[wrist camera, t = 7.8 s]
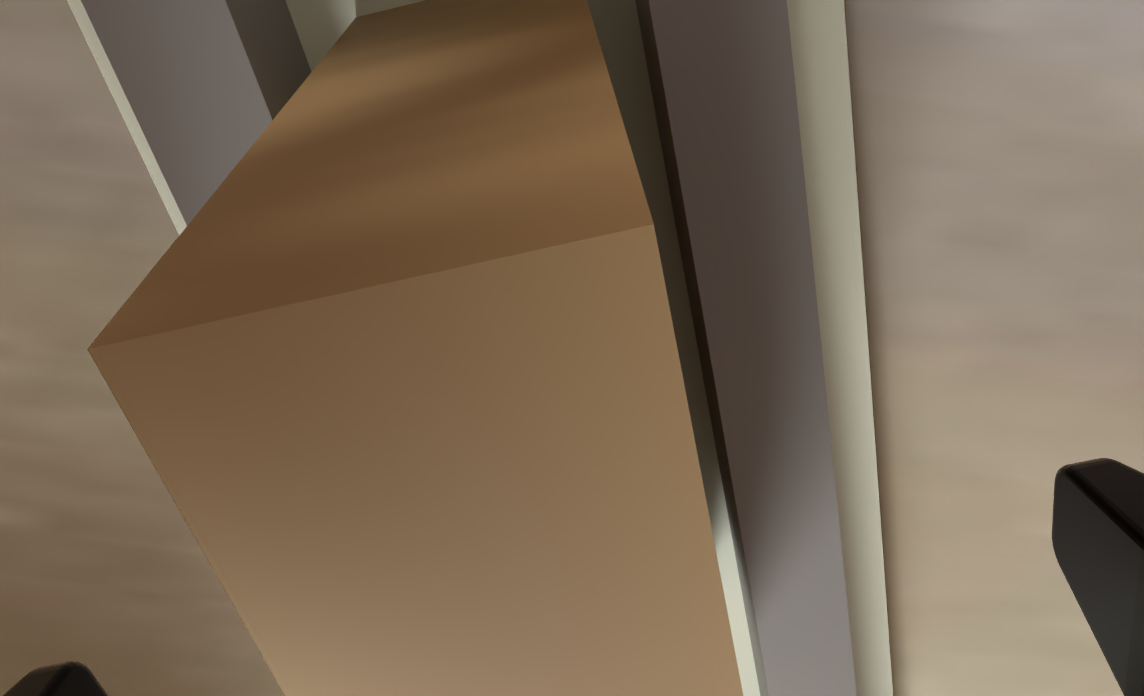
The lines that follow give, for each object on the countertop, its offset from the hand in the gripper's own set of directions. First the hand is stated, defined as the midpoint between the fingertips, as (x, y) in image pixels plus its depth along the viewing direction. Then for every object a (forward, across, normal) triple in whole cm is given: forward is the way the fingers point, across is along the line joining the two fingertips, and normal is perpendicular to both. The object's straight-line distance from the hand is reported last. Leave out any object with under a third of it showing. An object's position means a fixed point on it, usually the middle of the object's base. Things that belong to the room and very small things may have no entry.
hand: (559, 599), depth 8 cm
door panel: (+4, 0, 0) cm, 4 cm away
